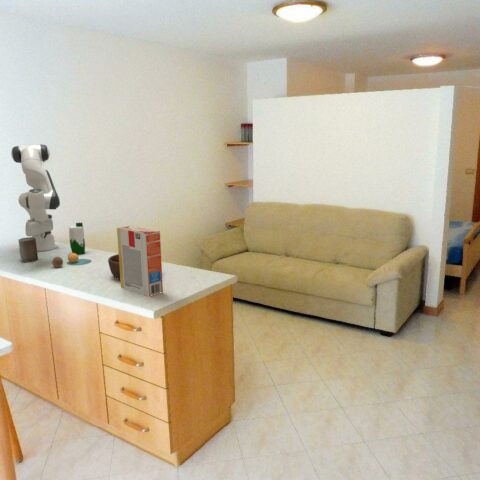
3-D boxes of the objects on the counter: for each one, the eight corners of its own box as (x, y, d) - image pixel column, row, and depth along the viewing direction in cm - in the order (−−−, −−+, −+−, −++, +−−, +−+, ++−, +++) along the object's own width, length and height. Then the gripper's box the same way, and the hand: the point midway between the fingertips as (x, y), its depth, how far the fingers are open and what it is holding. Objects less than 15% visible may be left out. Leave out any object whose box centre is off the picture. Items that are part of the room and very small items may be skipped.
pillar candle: (41, 258, 286) (38, 235, 283) (32, 262, 277) (29, 238, 274) (26, 258, 287) (23, 235, 284) (17, 262, 278) (14, 238, 275)
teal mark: (66, 260, 280) (66, 260, 280) (90, 258, 285) (90, 258, 285) (67, 266, 268) (67, 265, 267) (92, 263, 273) (92, 263, 273)
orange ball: (69, 250, 276) (79, 253, 278) (66, 260, 276) (76, 262, 279) (69, 253, 270) (79, 255, 272) (66, 263, 271) (77, 265, 273)
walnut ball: (63, 259, 263) (66, 262, 269) (55, 253, 264) (57, 256, 269) (56, 268, 261) (59, 270, 267) (48, 262, 262) (51, 264, 267)
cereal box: (162, 292, 219) (159, 231, 213) (149, 296, 213) (145, 233, 207) (134, 283, 234) (130, 225, 228) (120, 287, 228) (116, 228, 222)
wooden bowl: (145, 283, 234) (144, 264, 231) (100, 281, 239) (99, 262, 236) (163, 270, 258) (162, 252, 255) (122, 268, 262) (121, 250, 260)
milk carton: (86, 254, 296) (83, 223, 292) (71, 255, 293) (68, 225, 289) (84, 251, 304) (82, 221, 300) (70, 252, 301) (67, 222, 296)
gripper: (31, 220, 252) (33, 244, 255) (54, 214, 272) (56, 237, 275) (21, 220, 254) (23, 244, 257) (44, 214, 273) (47, 237, 276)
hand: (40, 240), depth 266 cm, fingers closed
